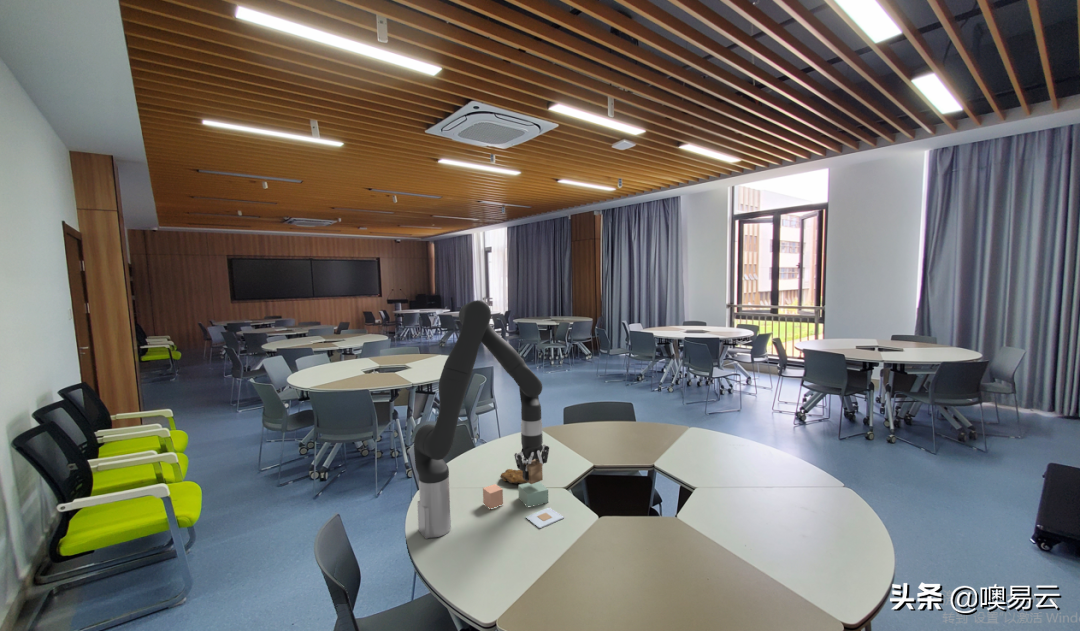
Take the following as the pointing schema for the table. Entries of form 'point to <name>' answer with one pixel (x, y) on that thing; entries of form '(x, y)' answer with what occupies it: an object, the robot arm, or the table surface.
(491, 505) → the terracotta block
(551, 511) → the card
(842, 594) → the table surface
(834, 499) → the table surface
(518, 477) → the decorative rock
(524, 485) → the base block
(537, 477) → the walnut block
